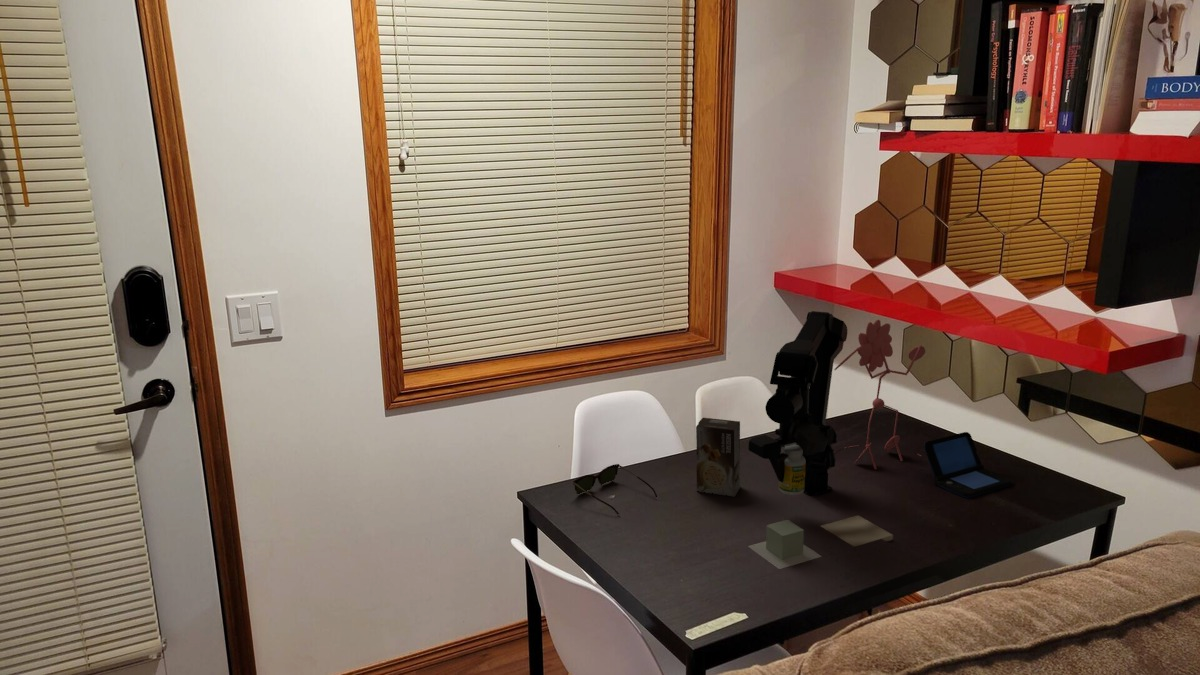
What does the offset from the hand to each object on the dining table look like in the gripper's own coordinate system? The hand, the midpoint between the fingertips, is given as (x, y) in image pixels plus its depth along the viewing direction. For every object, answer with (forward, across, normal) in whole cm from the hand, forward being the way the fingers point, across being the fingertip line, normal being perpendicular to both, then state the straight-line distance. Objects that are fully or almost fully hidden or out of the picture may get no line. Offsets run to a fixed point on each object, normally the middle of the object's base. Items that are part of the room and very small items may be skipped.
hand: (791, 478), depth 177 cm
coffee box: (+9, -5, +20) cm, 23 cm away
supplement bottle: (+3, 0, 0) cm, 3 cm away
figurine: (+9, +38, +18) cm, 43 cm away
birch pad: (+9, +7, -12) cm, 17 cm away
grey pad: (+9, -11, -12) cm, 19 cm away
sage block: (+8, -11, -12) cm, 18 cm away
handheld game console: (+10, +47, -4) cm, 48 cm away
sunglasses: (+10, -28, +27) cm, 40 cm away
